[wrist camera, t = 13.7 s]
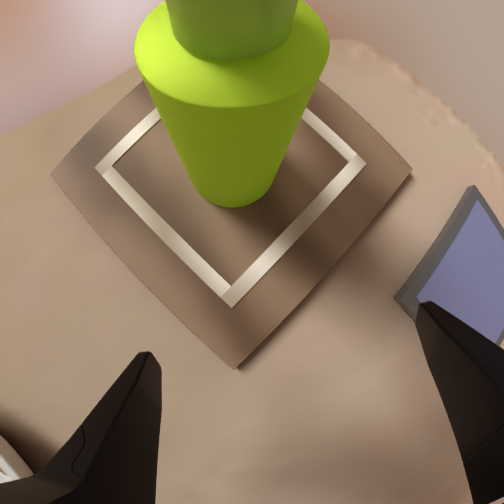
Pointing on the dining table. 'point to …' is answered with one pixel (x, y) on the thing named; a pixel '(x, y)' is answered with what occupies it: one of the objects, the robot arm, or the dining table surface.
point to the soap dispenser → (231, 86)
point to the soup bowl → (11, 463)
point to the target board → (230, 215)
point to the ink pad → (463, 269)
